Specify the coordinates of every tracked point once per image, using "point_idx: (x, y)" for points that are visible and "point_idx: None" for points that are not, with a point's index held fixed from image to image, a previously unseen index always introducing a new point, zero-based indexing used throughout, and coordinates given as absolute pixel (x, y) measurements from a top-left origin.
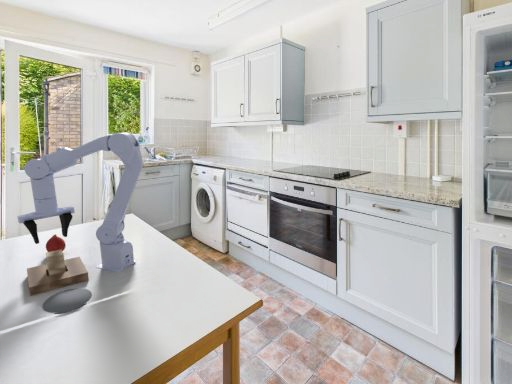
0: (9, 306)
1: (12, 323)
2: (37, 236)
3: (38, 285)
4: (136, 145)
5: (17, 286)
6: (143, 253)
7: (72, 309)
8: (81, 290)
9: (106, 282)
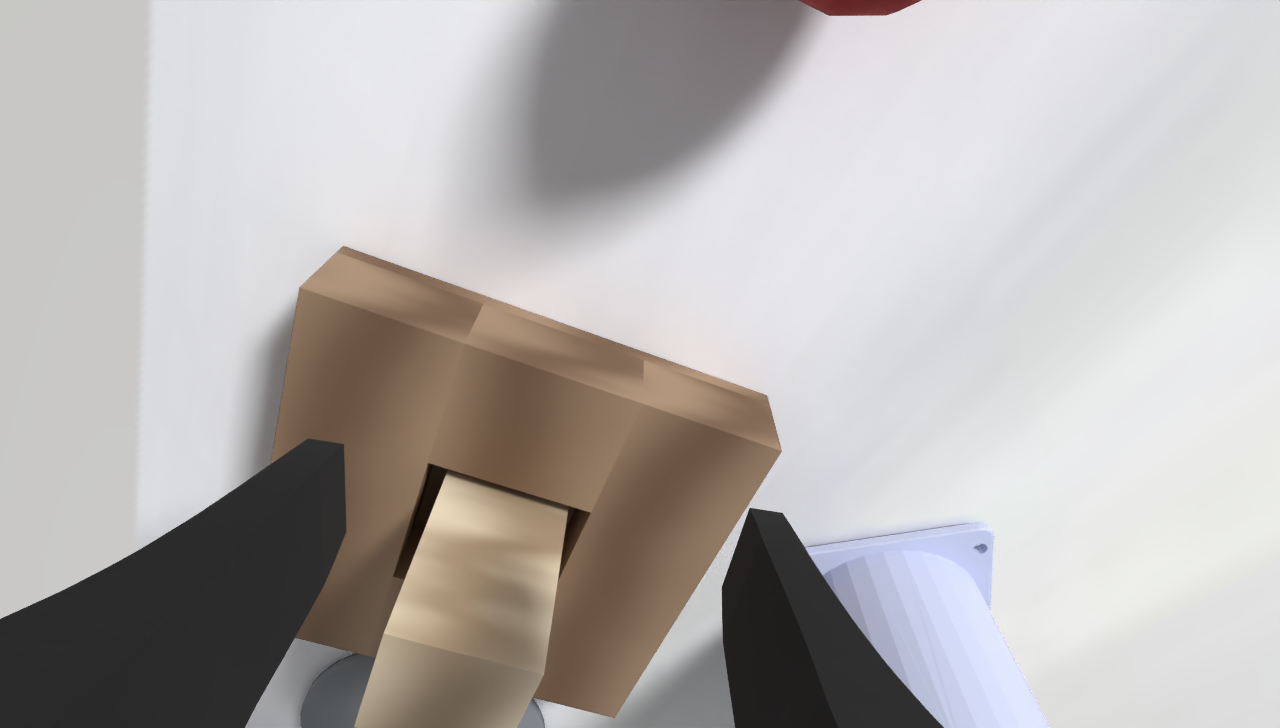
0: None
1: None
2: (271, 663)
3: (304, 637)
4: None
5: (237, 338)
6: (1164, 614)
7: None
8: None
9: (669, 721)
